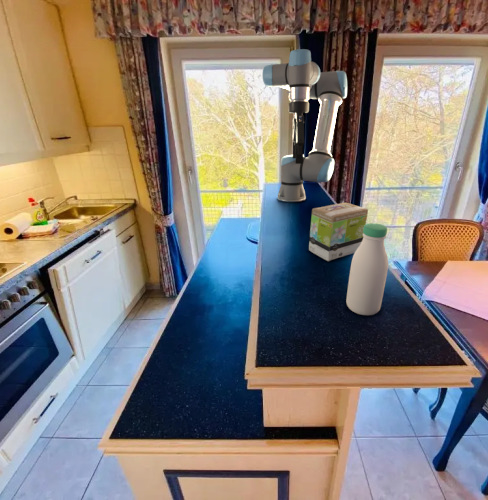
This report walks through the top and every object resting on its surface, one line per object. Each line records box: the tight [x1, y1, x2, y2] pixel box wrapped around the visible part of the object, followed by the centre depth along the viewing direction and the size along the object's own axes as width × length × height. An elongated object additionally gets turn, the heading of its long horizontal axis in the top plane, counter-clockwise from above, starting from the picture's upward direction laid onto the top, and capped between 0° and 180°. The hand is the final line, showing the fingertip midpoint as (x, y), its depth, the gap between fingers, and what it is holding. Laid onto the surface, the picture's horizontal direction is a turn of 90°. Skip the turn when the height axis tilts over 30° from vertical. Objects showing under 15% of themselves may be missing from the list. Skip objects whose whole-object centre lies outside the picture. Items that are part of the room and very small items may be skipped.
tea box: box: [308, 201, 369, 262], centre depth 90 cm, size 15×10×15 cm, turn 122°
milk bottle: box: [345, 222, 389, 316], centre depth 61 cm, size 8×8×20 cm
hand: (297, 160), depth 112 cm, fingers open, 13 cm apart
